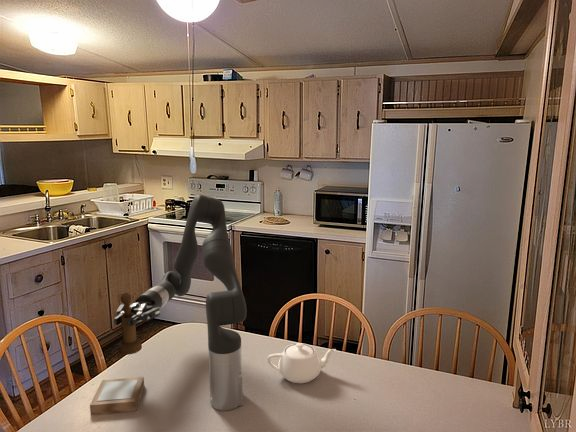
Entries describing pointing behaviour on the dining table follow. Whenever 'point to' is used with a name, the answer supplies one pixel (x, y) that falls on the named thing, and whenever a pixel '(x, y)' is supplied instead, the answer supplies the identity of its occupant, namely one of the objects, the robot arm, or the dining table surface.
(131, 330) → the brown pepper mill
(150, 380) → the dining table surface
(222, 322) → the robot arm
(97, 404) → the plinth
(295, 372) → the teapot
